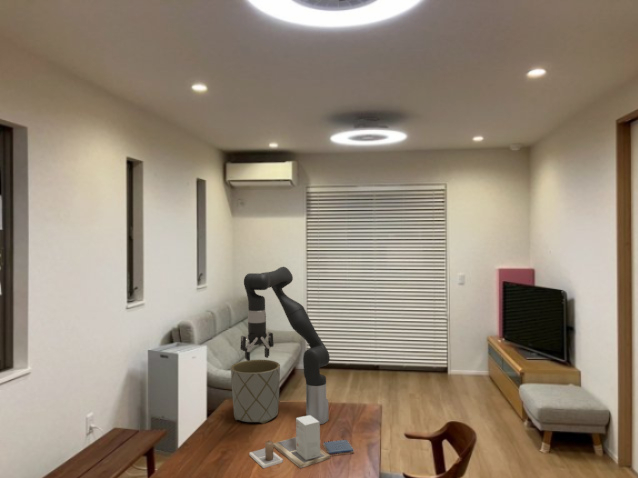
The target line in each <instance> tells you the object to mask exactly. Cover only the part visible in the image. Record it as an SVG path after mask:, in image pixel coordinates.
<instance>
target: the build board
mask: <svg viewBox="0 0 638 478" xmlns="http://www.w3.org/2000/svg"><path fill="white" fill-rule="evenodd" d="M274 448H275V449H276V451H278V452H279V453H280V454H282V455H283V456H284V457H285V458H287V459H288V460H289V461H291V463H292V464H294V465H295V466H297V467H298V468H299V469H303V468H305V467H309V466H311V465H315V464H317V463H320V462H323V461H326V460H330V458H331V456H330V455H329V453H327V451H326V452H325V451H324V450H323V449H322V448H320V456H319V457H316V458H312V459H308V460H305V459H304V458H303V457H302V456H301V455H299V454H298V453H297V452H296V436H295V437H291V438H288V439H284V440H280V441H276V442H273V449H274Z"/></svg>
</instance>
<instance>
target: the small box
mask: <svg viewBox="0 0 638 478" xmlns="http://www.w3.org/2000/svg"><path fill="white" fill-rule="evenodd" d="M320 425H321V424H320V422H319V421H318V420H316V419H315V418H313V417H312V416H311V415H308V416H306V415H303V416H298V417H295V437H296V452H297V453H298V454H299V455H301V456H302V457H303V458H304V459H305V460H308V459H312V458H316V457H319V456H320V449H321V426H320Z"/></svg>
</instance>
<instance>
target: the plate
mask: <svg viewBox="0 0 638 478" xmlns="http://www.w3.org/2000/svg"><path fill="white" fill-rule="evenodd" d="M273 443H274V441H271V440H268V441H266V442H264V448H262V449H258V450H253V451H250V452H249V453H248V454H249V456H250V458H252V459H253V461H254V462H256V463H257V464H258V465H259V466H260V467H261V468H262V469H266V468H268V467H269V468H270V467H272V466H276V465H279V464H282V463H283V462H284V459H283V458H282V457H280V456H279V455H278V454H277V453H276V452H274V447H273Z"/></svg>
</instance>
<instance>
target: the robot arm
mask: <svg viewBox="0 0 638 478" xmlns="http://www.w3.org/2000/svg"><path fill="white" fill-rule="evenodd" d="M293 280H294V277H293V274H292V272H291V271H290V269H289V268H288V267H286V266H281V267H278V268H277V269H276V270H272V271H265V272H260V273H258V272H256V273H246V275H245V277H244V279H243V285H244V290H245V292H246V295H247V300H248V304H247V305H248V309H247V310H248V313H247V325H248V326H247V332H248V333H247V336H246V335H241V336H240V350H241V351H242V352H244V358H245V361H250V360H251V352H250V351H251V349H252V348H253V347H254V346H257V345H263V346H264V358H269V357H270V348H273V347H274V333H273V332H270V331H268V332H267V314H266V297H265V296H264V295H259V294H257V292H256V291H265V290H268V288H270V289H272V291H273V293H274V294H275V296H276V298H277V299H278V301H279V304H280V305H281V307H282V310H283V312H284V314H285V316H286V318H287V320H288V323H289V324H290V327H291V328H292V330H293V331H294V332H295V333H297V334H298V335H299V336H301V338H303V339H304V340H305V341H306V342H307V345H308V346H309V348H308V349H306V350H305V352H303V357H302V362H303V363H302V364H303V375H304V376H303V377H304V379H305V411H306V412H305V413H306V415H305V416H308V415H311V416H312V417H313V418H315V419H316V420H318V421H319V422H320V425H323V424H325V423H327V422H328V421H329V399H328V398H327V377H326V376H325V374H322V373H321V374H320V368H322V367H325V366H327V365H328V364H329V363H330V359H331V358H330V353H329V351H328V349H327V347H326V345H325V344H324V342H323V341H322V339H321V337H320V336H319V334H318V332H317V331H316V329H315V326H314V325H313V323H312V321H311V319H310V317H309V315H308V312H307V311H306V309H305V307H304V305H302V304H301V303H299V302H298V301H296V300H294V299H293V298H291V297H289V296H288V295H287V294H286V293H285V291H284V290H283V288H285V287H287V286H288V285H290V284H291V283H292V282H293ZM266 338H267V339H268V341H267V340H266ZM247 341H248V342H247Z"/></svg>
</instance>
